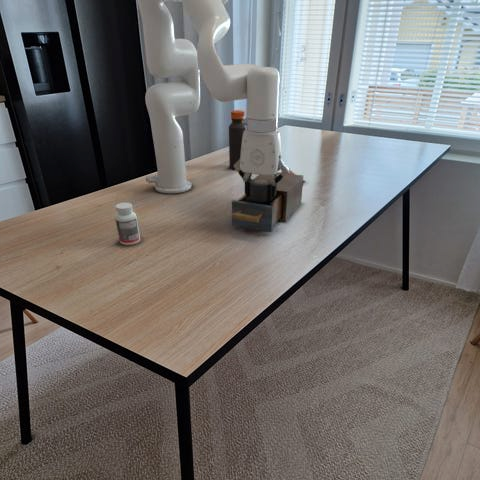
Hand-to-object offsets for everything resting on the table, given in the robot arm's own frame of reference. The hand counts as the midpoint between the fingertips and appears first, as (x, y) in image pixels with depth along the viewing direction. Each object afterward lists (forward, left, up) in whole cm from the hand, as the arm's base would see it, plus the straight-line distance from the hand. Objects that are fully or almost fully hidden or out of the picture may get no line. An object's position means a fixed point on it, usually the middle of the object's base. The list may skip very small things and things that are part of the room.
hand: (260, 196), depth 112 cm
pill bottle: (-35, -10, -8) cm, 37 cm away
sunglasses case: (+10, +32, -8) cm, 34 cm away
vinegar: (-5, +55, -8) cm, 56 cm away
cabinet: (+5, +11, -8) cm, 14 cm away
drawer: (-1, -1, -7) cm, 7 cm away
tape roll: (0, 0, -1) cm, 1 cm away
